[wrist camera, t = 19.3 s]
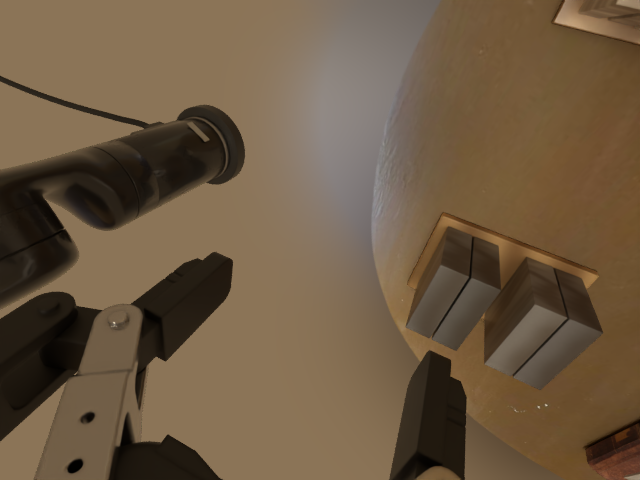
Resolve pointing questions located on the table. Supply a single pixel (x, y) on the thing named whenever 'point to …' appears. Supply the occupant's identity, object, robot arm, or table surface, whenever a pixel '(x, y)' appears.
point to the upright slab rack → (602, 18)
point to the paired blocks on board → (503, 300)
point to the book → (617, 455)
